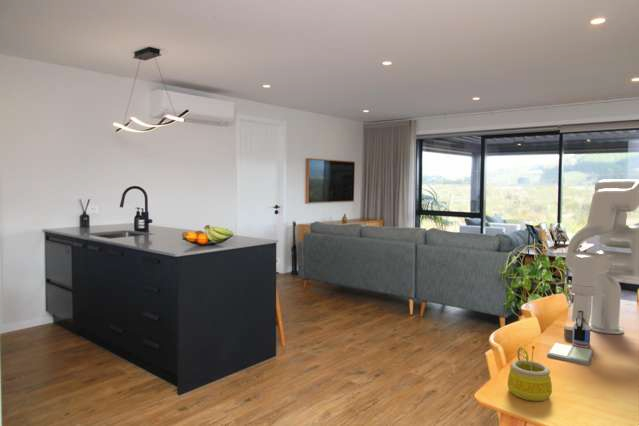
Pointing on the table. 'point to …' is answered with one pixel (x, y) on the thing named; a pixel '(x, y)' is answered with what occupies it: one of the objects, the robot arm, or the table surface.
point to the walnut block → (568, 333)
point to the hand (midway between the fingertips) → (581, 336)
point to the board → (571, 353)
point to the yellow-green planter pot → (529, 379)
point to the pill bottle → (587, 337)
